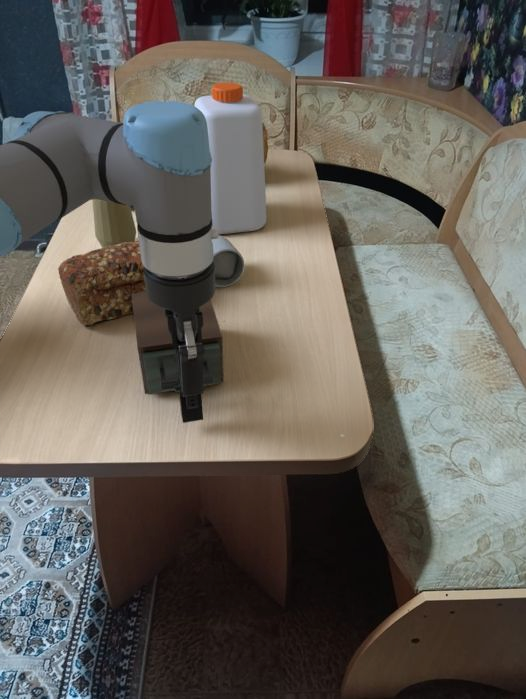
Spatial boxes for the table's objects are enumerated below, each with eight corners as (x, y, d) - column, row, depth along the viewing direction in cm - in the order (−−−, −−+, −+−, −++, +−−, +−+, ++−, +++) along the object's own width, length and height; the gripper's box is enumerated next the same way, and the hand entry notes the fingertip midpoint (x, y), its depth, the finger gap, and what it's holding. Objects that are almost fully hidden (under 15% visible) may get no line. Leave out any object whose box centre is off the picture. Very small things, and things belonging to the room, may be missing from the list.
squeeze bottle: (146, 249, 111) (135, 162, 100) (113, 263, 107) (97, 173, 95) (123, 235, 115) (110, 150, 104) (90, 248, 111) (72, 161, 99)
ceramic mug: (231, 262, 108) (229, 227, 103) (245, 283, 102) (244, 246, 97) (179, 272, 105) (175, 236, 100) (191, 294, 99) (187, 257, 94)
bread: (82, 331, 89) (70, 280, 83) (64, 300, 96) (51, 250, 90) (185, 300, 97) (181, 250, 91) (161, 273, 104) (156, 225, 98)
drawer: (226, 402, 76) (225, 366, 72) (151, 414, 74) (146, 377, 70) (206, 332, 89) (204, 297, 84) (142, 341, 87) (137, 306, 82)
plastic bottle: (191, 208, 126) (182, 77, 109) (254, 202, 130) (255, 74, 112) (202, 238, 115) (194, 98, 97) (270, 231, 118) (275, 94, 101)
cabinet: (223, 381, 81) (222, 336, 75) (145, 393, 79) (137, 348, 73) (208, 328, 91) (206, 284, 86) (138, 337, 89) (131, 293, 83)
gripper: (226, 291, 53) (230, 448, 68) (203, 231, 63) (211, 380, 78) (148, 301, 52) (170, 460, 67) (137, 237, 61) (158, 388, 76)
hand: (192, 417), depth 72 cm, fingers closed
